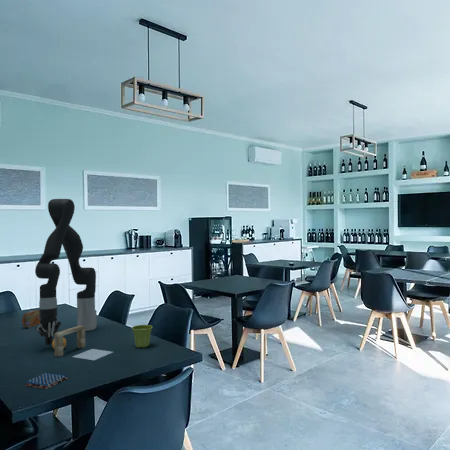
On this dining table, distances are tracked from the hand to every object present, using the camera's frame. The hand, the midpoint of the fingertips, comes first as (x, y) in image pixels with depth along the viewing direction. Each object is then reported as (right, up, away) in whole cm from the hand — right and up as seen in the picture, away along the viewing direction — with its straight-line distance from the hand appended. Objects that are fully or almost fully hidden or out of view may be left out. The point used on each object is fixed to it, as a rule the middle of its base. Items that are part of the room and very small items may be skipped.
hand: (48, 344), depth 191 cm
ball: (+6, +2, -3) cm, 7 cm away
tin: (-28, -2, +44) cm, 52 cm away
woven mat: (+17, -2, -42) cm, 45 cm away
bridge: (+12, -1, -5) cm, 13 cm away
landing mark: (+24, -1, -11) cm, 26 cm away
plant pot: (+43, -1, +1) cm, 43 cm away
